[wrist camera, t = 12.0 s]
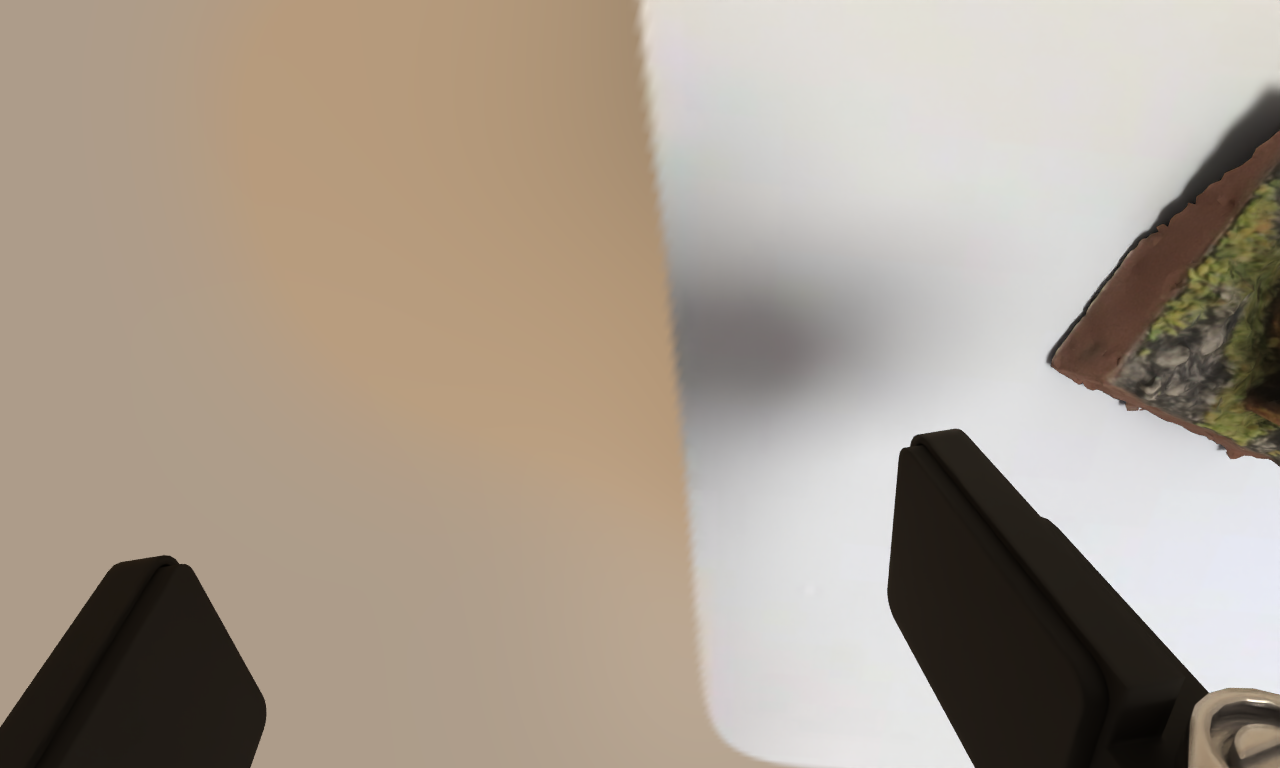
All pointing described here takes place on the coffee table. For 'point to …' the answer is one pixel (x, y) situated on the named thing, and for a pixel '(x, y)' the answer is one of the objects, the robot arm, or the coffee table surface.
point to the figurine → (1197, 316)
